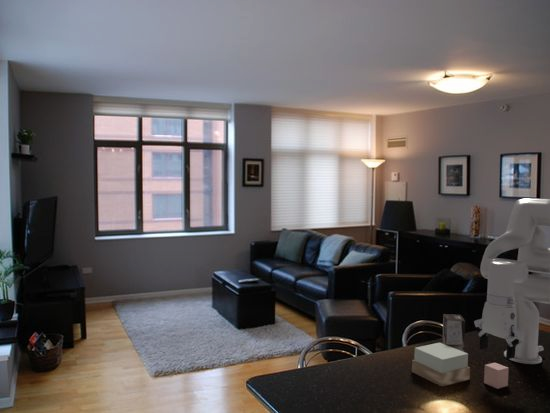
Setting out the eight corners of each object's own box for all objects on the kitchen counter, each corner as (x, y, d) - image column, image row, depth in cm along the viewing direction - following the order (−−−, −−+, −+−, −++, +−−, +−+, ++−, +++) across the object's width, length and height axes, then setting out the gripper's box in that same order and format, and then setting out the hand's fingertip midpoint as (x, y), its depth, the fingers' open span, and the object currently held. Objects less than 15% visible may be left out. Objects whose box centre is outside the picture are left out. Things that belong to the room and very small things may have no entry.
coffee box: (463, 366, 172) (465, 321, 171) (444, 364, 173) (446, 319, 172) (459, 357, 181) (461, 314, 180) (441, 355, 182) (443, 313, 181)
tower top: (439, 355, 171) (439, 342, 170) (467, 366, 160) (468, 353, 160) (414, 360, 165) (414, 347, 164) (442, 373, 154) (442, 359, 154)
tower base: (438, 366, 172) (439, 354, 171) (469, 380, 160) (470, 367, 160) (411, 373, 165) (412, 360, 165) (441, 387, 154) (442, 374, 154)
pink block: (494, 380, 160) (494, 362, 160) (507, 386, 156) (508, 367, 155) (483, 383, 158) (484, 364, 157) (497, 388, 153) (498, 370, 153)
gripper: (532, 305, 149) (529, 360, 150) (484, 294, 164) (481, 344, 165) (517, 307, 146) (513, 363, 146) (469, 295, 161) (466, 346, 161)
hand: (496, 353), depth 155 cm, fingers open, 9 cm apart
